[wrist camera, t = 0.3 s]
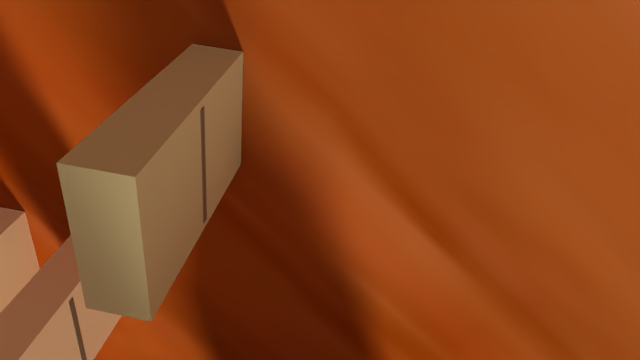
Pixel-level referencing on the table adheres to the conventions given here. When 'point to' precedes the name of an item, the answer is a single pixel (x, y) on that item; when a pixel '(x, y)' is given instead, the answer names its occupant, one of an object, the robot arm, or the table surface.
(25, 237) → the domino
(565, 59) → the table surface
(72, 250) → the domino
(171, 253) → the sage domino
